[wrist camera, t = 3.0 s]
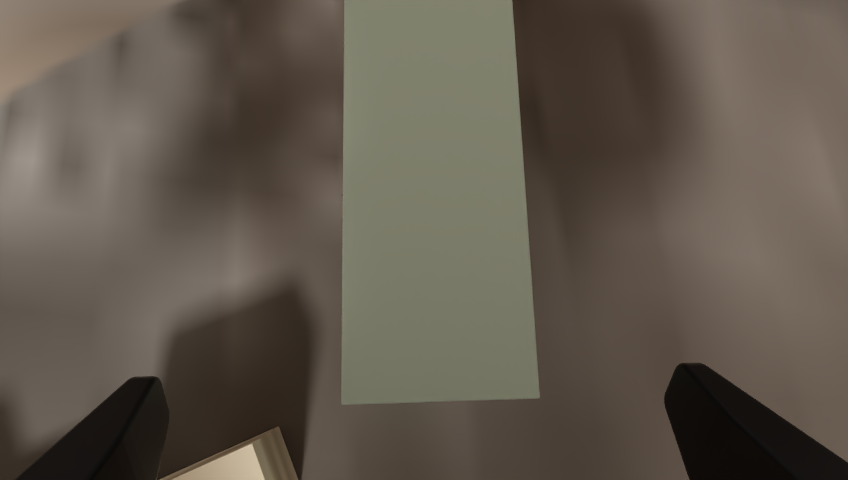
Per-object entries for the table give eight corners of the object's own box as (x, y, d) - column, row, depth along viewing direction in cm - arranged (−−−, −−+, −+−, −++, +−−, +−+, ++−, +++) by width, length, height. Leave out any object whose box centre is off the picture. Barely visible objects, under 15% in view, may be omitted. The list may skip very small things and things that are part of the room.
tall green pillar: (442, 382, 19) (539, 397, 9) (354, 385, 19) (341, 404, 8) (436, 188, 21) (511, -4, 10) (354, 187, 20) (344, -11, 10)
